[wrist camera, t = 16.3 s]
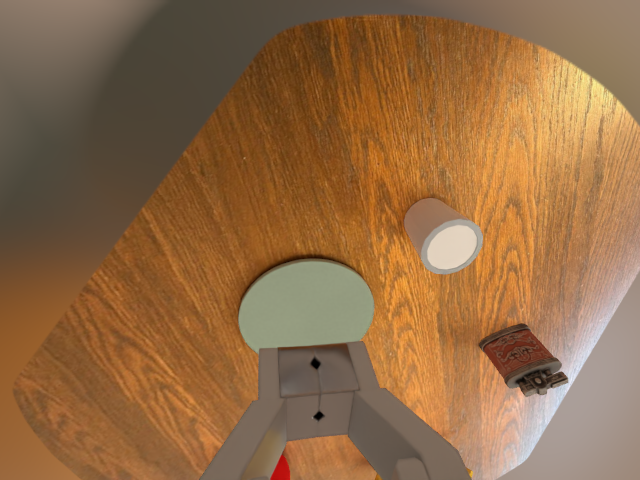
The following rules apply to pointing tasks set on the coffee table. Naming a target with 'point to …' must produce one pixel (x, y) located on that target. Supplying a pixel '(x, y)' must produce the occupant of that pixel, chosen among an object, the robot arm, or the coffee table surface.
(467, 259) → the shot glass
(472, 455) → the coffee table surface
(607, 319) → the coffee table surface
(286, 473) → the flower
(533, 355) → the lighter
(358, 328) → the plate
